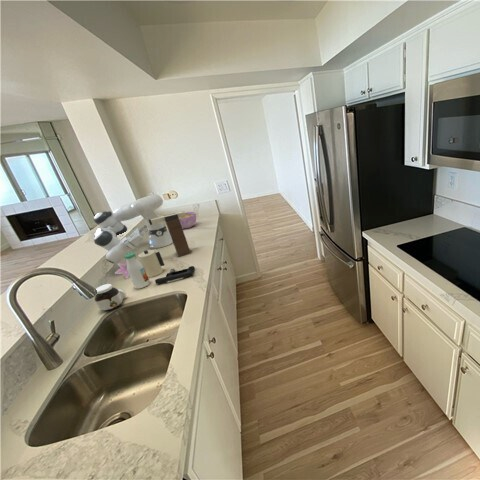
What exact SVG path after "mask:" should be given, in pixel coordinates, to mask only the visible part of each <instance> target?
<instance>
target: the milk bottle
mask: <svg viewBox="0 0 480 480" xmlns="http://www.w3.org/2000/svg"><path fill="white" fill-rule="evenodd" d="M124 258H125V261H126V260H127V271H128V273H129V278H130V280H131V282H132V285H133V287H134V288H135V289H136V290H137V289H138V290H139V289H143V288H145V287H147V286H149V285H150V284H151V281H150V277H148V276H147V274H146V271H145V269H144V267H143V265H142V264H141V262H139V261H138V260H137V259H138V258H137V257H136V254H135V252H129V253H128V254H127V255H125V257H124Z"/></svg>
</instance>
